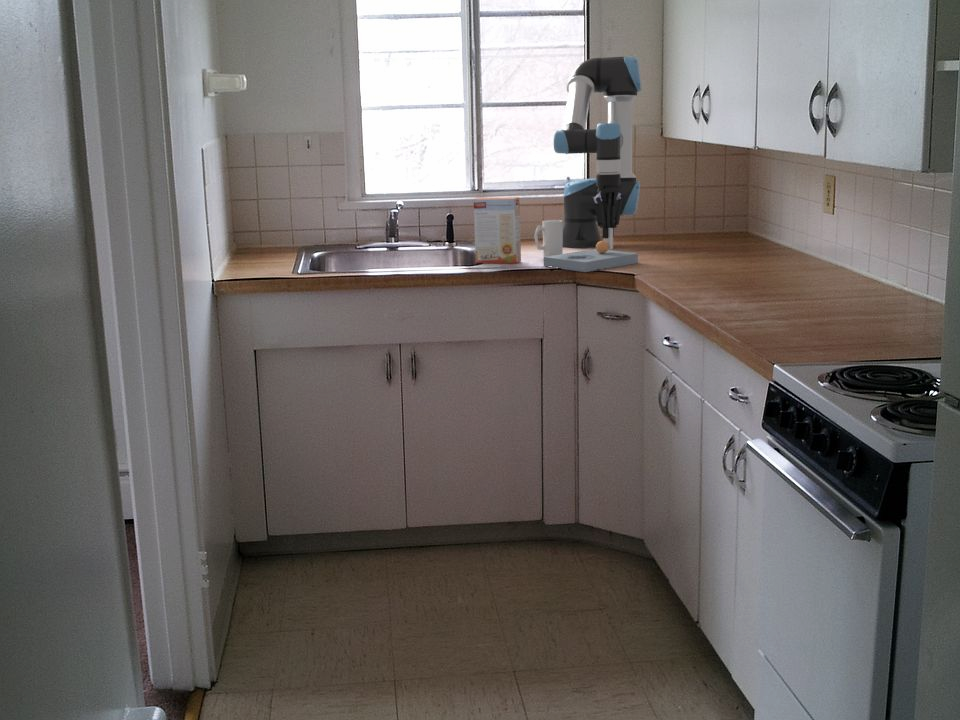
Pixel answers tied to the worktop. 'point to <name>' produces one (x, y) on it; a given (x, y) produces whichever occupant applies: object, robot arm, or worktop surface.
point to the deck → (591, 260)
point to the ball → (601, 247)
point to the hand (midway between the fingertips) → (608, 248)
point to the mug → (550, 237)
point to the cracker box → (497, 230)
